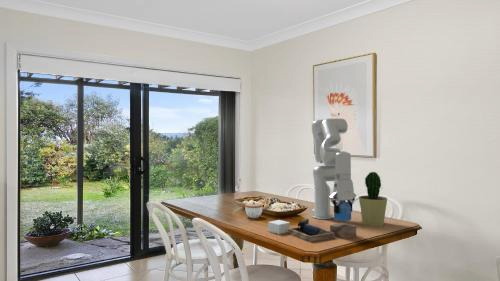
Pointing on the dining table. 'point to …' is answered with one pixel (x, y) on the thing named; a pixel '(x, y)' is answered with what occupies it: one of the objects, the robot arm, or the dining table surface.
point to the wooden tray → (303, 236)
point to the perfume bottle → (343, 211)
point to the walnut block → (343, 230)
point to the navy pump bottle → (309, 228)
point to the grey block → (278, 226)
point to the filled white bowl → (253, 209)
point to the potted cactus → (373, 202)
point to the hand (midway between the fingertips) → (343, 212)
